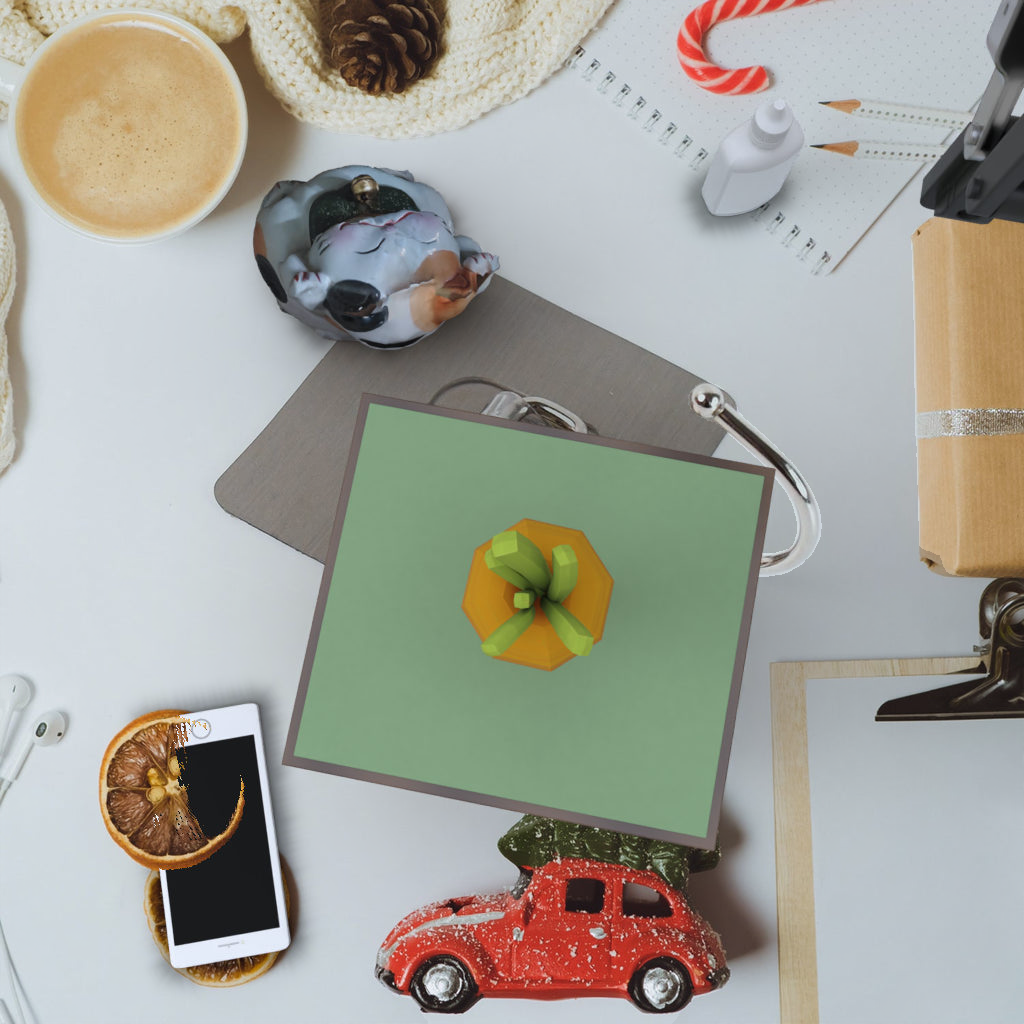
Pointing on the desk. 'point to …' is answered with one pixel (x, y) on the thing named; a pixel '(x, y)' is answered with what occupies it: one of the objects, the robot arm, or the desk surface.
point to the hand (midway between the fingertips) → (971, 70)
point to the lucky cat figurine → (367, 256)
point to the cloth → (516, 688)
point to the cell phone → (226, 846)
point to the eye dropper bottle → (753, 160)
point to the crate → (501, 802)
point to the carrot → (537, 595)
